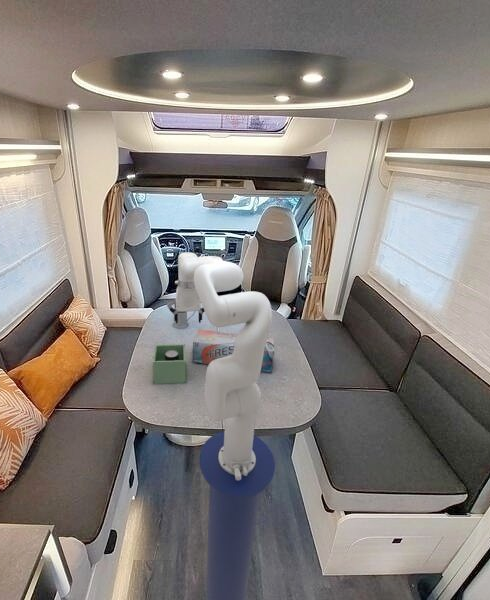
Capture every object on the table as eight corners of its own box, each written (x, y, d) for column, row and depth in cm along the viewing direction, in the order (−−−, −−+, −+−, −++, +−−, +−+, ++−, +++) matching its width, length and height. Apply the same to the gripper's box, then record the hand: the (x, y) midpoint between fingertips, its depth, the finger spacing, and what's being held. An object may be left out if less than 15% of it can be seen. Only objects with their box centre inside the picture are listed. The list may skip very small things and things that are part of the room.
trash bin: (185, 382, 145) (185, 361, 141) (153, 383, 144) (152, 362, 140) (185, 364, 159) (184, 344, 154) (156, 365, 158) (155, 345, 153)
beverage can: (172, 380, 145) (171, 359, 140) (162, 375, 149) (161, 353, 144) (181, 374, 150) (181, 352, 145) (171, 369, 154) (171, 348, 149)
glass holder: (172, 322, 201) (172, 301, 195) (194, 320, 205) (194, 299, 199) (175, 328, 193) (174, 306, 187) (197, 326, 197) (197, 304, 191)
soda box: (191, 363, 159) (191, 341, 154) (197, 349, 172) (197, 328, 167) (272, 373, 153) (275, 351, 148) (272, 358, 166) (274, 336, 161)
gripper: (166, 287, 121) (167, 326, 128) (210, 286, 123) (209, 325, 129) (166, 280, 128) (167, 318, 135) (208, 280, 130) (207, 317, 136)
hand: (188, 321), depth 132 cm, fingers open, 9 cm apart
